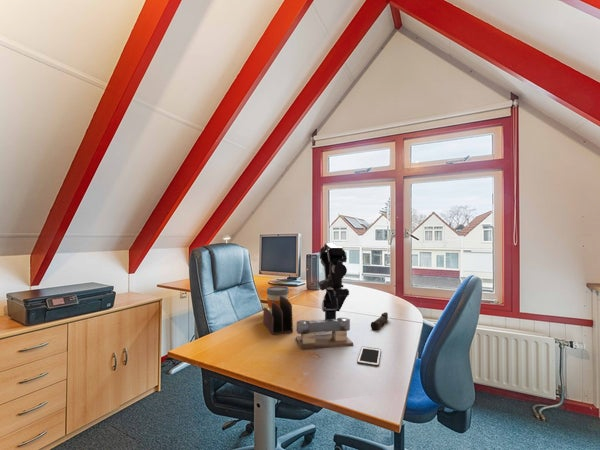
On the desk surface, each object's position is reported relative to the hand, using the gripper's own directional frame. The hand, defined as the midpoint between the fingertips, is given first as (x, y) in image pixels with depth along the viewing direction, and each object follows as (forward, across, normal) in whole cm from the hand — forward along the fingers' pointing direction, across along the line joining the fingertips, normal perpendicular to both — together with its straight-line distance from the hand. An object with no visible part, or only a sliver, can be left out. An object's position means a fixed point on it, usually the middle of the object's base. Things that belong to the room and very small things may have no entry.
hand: (335, 306), depth 134 cm
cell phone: (+13, +27, +4) cm, 30 cm away
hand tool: (+12, -6, +26) cm, 29 cm away
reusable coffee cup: (+12, -33, -23) cm, 42 cm away
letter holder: (+12, -13, -26) cm, 32 cm away
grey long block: (+7, +10, -9) cm, 15 cm away
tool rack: (+12, +10, -9) cm, 18 cm away
